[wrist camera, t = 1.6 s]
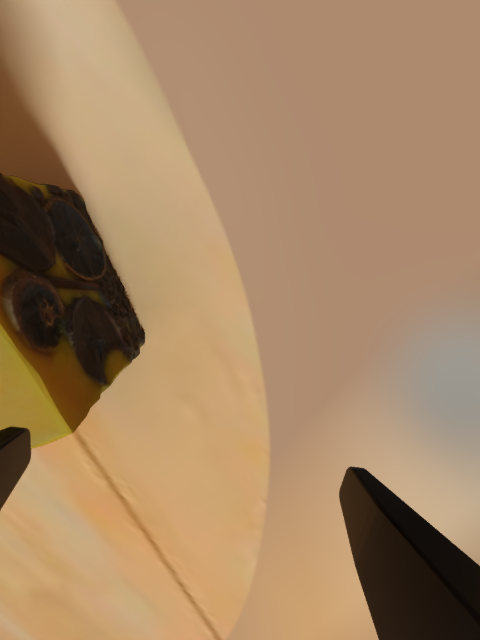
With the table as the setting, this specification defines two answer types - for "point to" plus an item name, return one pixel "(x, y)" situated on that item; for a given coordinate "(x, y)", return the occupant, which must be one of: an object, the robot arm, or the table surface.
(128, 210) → the table surface
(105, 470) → the table surface
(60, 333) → the spotted yellow cube
